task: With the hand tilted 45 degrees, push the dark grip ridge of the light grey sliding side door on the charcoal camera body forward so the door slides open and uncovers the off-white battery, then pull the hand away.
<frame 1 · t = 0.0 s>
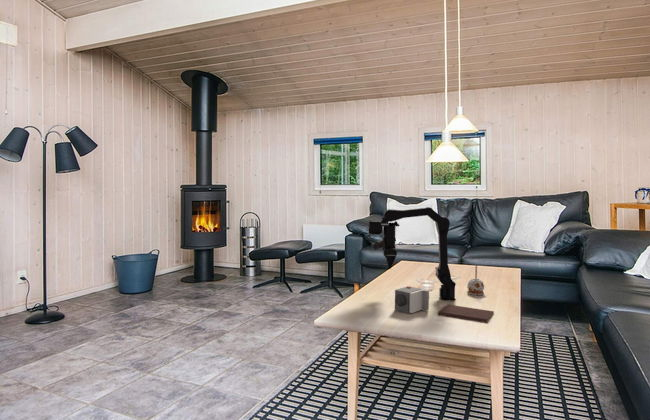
hand: (388, 267, 209), 15 cm above the table, tool pointing down, fingers open, 9 cm apart
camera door: (419, 301, 184), point 5 cm above the table, slide at 0.0 cm
camera body: (408, 309, 188), on the table
decorative ornament: (475, 294, 217), on the table
notebook: (465, 315, 182), on the table
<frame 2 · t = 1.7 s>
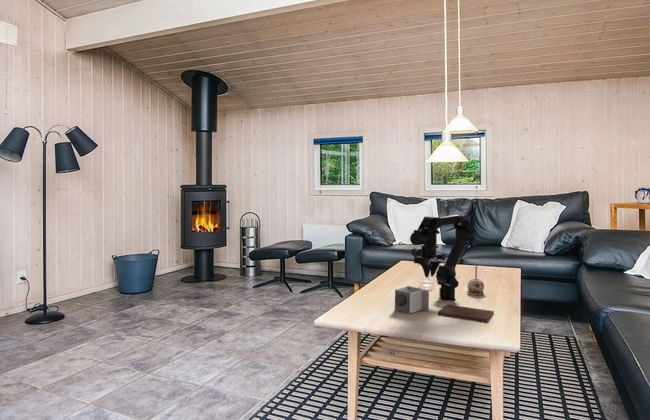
hand: (429, 276, 200), 12 cm above the table, tool pointing down, fingers open, 4 cm apart
nothing on the table moved.
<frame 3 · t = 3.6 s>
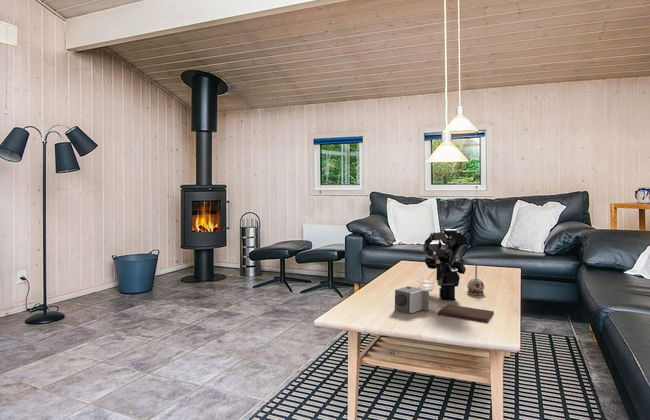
hand: (437, 280, 193), 12 cm above the table, tool tilted 45°, fingers closed
nothing on the table moved.
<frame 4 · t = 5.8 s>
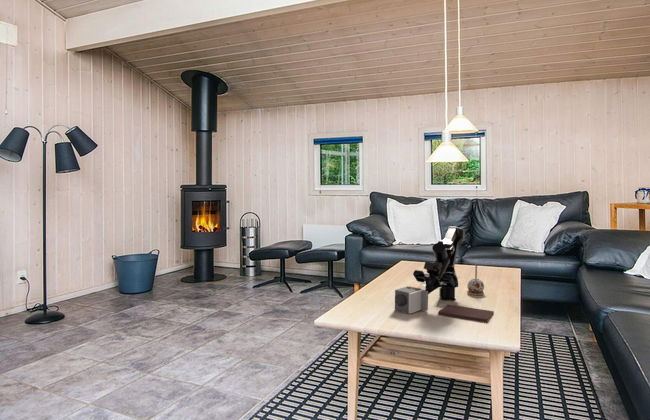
hand: (426, 294, 186), 7 cm above the table, tool tilted 45°, fingers closed, pressing on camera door
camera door: (418, 301, 184), point 5 cm above the table, slide at 0.7 cm, touching gripper
everything else where it was.
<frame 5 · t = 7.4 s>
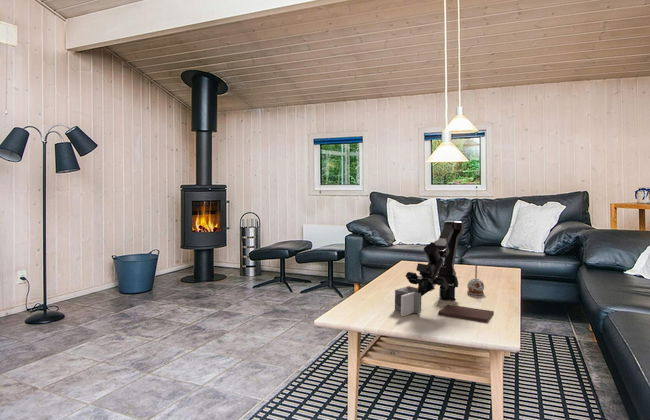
hand: (418, 296, 183), 7 cm above the table, tool tilted 45°, fingers closed, pressing on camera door
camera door: (411, 304, 180), point 5 cm above the table, slide at 6.3 cm, touching gripper
everything else where it was.
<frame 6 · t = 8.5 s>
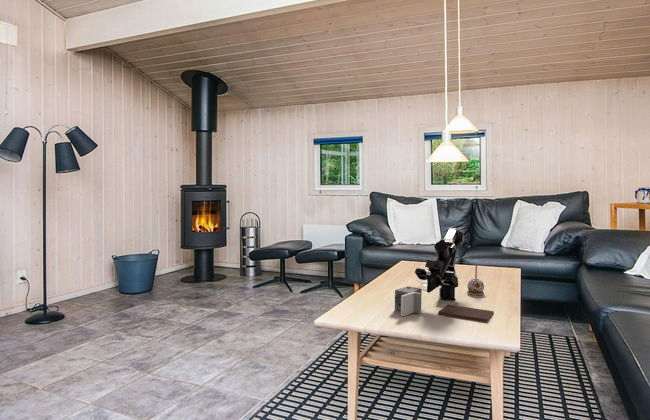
hand: (427, 292, 188), 8 cm above the table, tool tilted 45°, fingers closed
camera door: (411, 304, 180), point 5 cm above the table, slide at 6.3 cm
everything else where it was.
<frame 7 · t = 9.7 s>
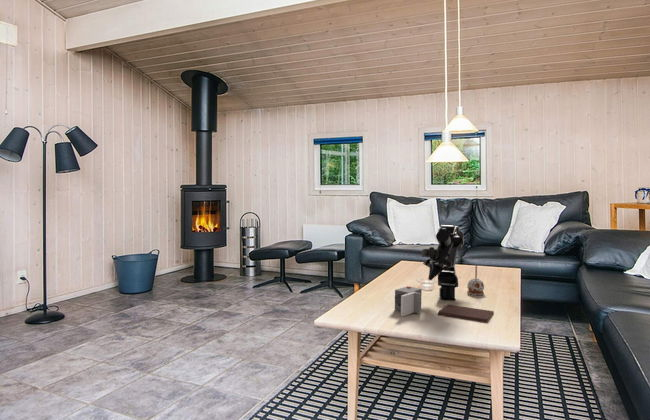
hand: (429, 279, 195), 12 cm above the table, tool tilted 35°, fingers closed
nothing on the table moved.
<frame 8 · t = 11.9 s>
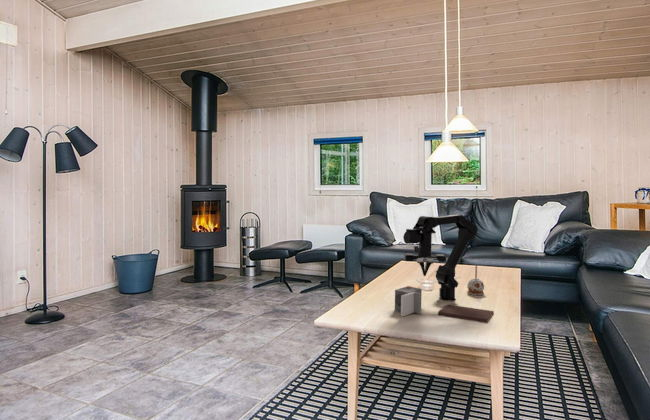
hand: (424, 275, 202), 12 cm above the table, tool pointing down, fingers closed
nothing on the table moved.
at the end: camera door slide at 6.3 cm; the gripper is holding nothing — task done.
